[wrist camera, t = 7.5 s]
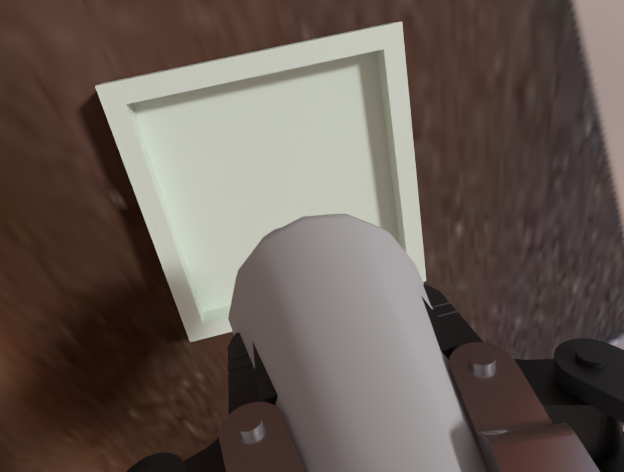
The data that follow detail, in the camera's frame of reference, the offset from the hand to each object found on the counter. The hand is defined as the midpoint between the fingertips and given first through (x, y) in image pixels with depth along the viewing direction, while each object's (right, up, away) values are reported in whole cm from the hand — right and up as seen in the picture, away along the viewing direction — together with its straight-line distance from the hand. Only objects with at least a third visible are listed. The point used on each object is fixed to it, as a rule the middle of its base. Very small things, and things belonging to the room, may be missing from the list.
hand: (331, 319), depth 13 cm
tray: (-2, +5, +12) cm, 13 cm away
